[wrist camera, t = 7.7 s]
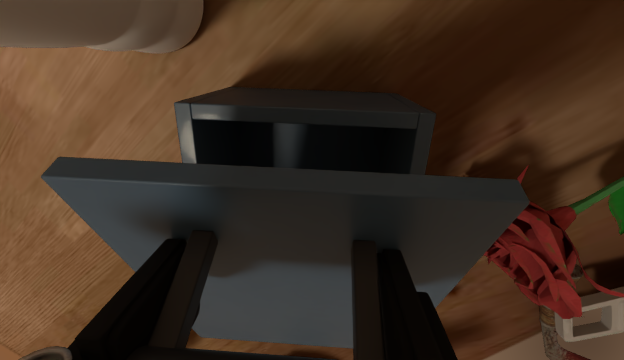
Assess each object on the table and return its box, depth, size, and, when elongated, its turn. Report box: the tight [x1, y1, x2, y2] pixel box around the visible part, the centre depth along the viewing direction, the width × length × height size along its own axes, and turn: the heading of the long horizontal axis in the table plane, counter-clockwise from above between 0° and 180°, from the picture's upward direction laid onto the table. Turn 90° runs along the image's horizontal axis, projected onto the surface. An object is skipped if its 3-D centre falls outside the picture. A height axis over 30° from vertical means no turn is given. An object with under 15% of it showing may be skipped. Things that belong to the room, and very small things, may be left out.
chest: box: [174, 87, 436, 175], centre depth 21 cm, size 15×13×9 cm
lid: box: [41, 157, 530, 360], centre depth 12 cm, size 15×13×6 cm
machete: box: [540, 264, 590, 360], centre depth 29 cm, size 21×3×5 cm
